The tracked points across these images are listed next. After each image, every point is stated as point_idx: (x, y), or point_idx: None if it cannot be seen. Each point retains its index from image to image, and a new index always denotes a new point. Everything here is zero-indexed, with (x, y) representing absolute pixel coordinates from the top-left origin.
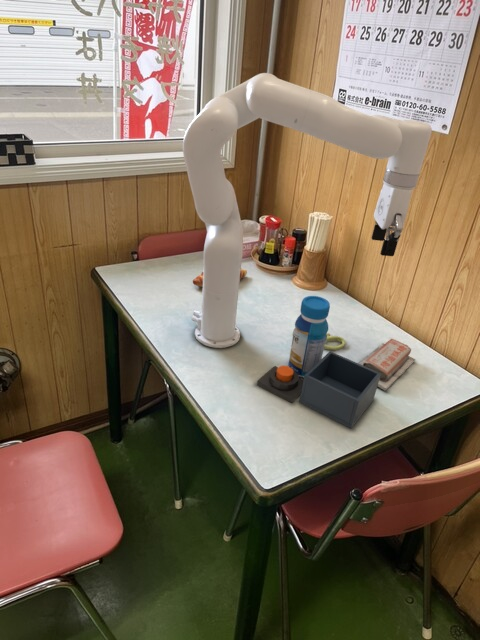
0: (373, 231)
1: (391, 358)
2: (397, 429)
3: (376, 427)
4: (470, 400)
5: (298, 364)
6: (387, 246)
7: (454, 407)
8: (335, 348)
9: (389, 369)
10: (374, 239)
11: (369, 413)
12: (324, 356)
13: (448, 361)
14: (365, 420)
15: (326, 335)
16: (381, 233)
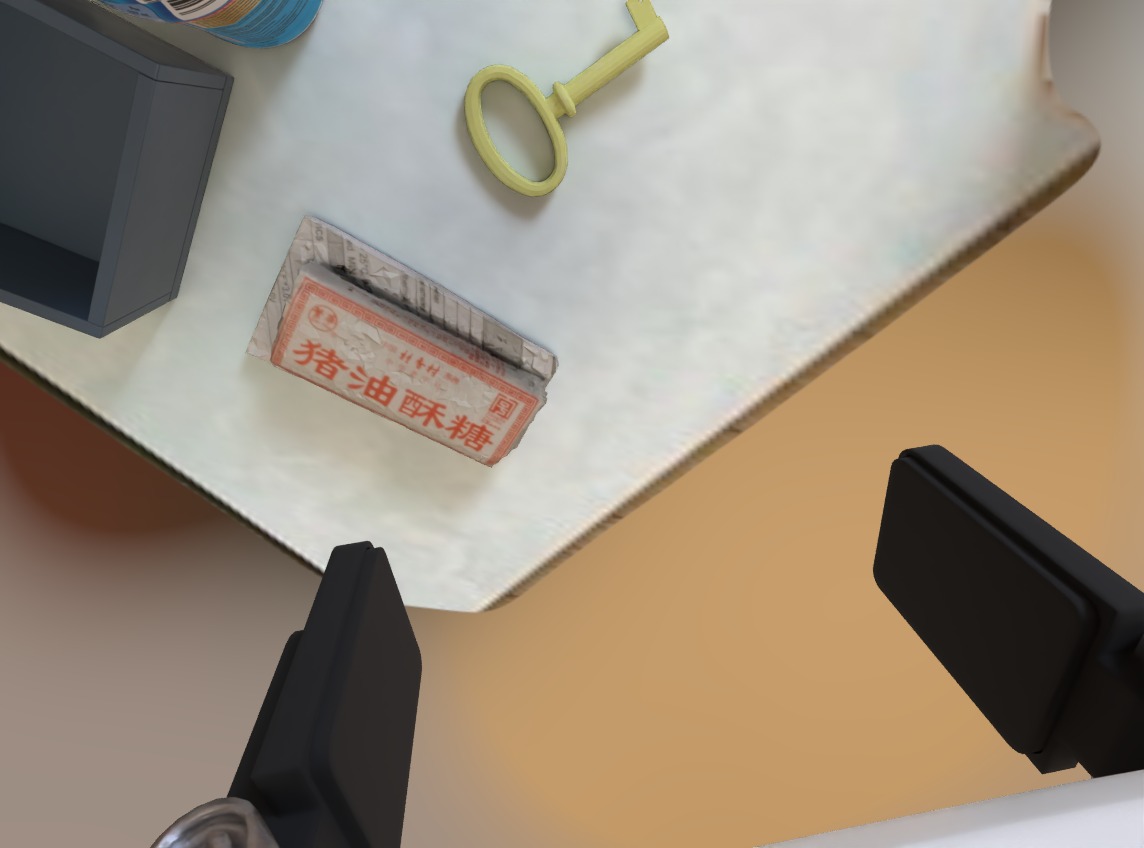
0: (1009, 514)
1: (378, 389)
2: (44, 370)
3: None
4: None
5: None
6: (259, 721)
7: (279, 546)
8: (474, 143)
9: (302, 374)
10: (892, 481)
11: None
12: (73, 21)
13: (536, 558)
14: None
15: (136, 7)
16: (945, 612)
